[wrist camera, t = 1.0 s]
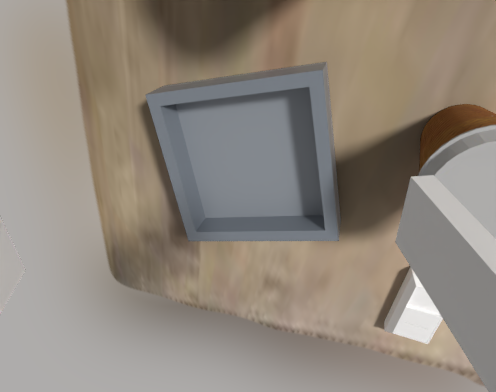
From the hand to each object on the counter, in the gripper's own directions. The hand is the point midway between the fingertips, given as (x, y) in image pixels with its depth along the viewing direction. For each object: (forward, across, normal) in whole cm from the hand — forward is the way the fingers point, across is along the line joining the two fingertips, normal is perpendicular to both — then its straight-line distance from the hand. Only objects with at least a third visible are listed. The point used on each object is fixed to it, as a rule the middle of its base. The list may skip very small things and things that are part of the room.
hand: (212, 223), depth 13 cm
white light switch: (+18, +22, -26) cm, 39 cm away
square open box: (+26, +4, -11) cm, 28 cm away
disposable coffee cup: (+20, +21, -7) cm, 30 cm away
